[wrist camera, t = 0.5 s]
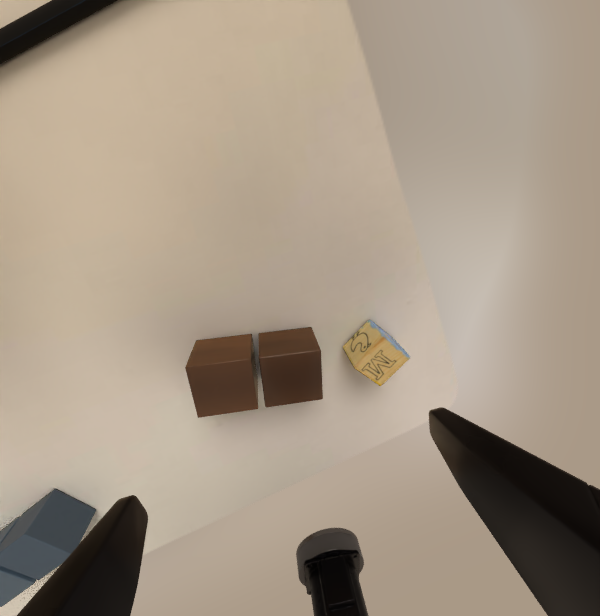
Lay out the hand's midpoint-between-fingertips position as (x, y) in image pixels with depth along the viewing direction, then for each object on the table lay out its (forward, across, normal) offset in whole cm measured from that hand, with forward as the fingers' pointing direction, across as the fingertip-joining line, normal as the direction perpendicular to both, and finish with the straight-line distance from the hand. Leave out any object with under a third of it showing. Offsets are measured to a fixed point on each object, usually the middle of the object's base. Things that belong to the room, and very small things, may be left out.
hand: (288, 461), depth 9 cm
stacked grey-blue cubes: (+13, +24, +15) cm, 31 cm away
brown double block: (+13, +2, +4) cm, 14 cm away
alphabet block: (+13, -7, +5) cm, 16 cm away
